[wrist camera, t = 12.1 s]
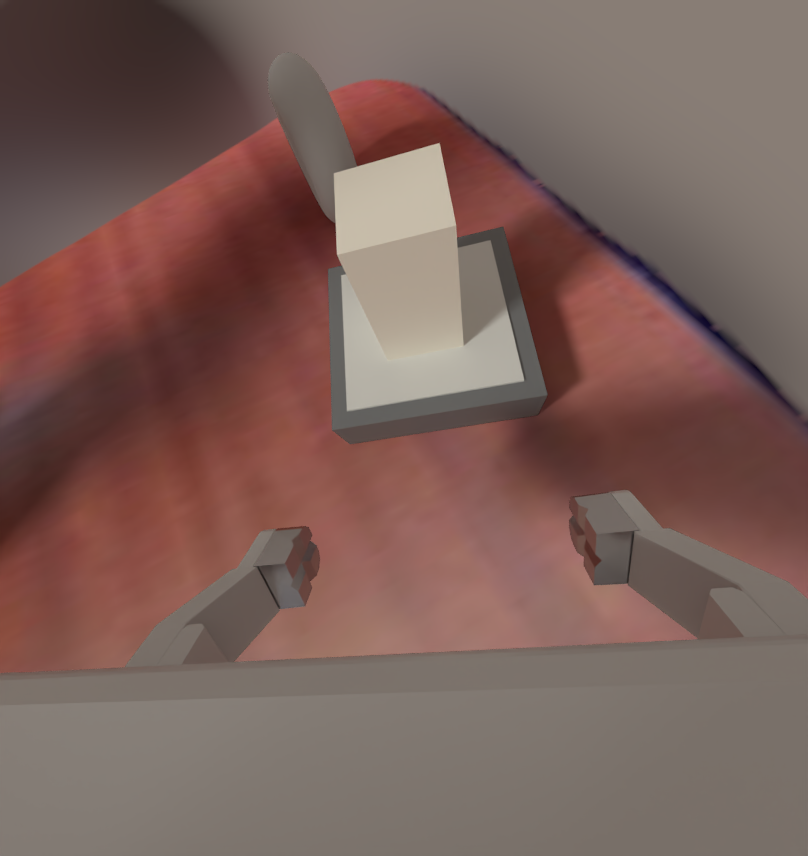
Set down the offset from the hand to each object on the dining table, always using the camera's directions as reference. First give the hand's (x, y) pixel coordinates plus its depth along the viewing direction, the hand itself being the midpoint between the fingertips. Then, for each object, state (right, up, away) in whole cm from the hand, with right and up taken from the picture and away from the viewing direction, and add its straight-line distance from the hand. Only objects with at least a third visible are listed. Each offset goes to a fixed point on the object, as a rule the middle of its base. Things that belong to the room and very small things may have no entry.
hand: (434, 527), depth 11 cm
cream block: (0, +10, +10) cm, 14 cm away
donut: (-6, +22, +19) cm, 30 cm away
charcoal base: (+1, +9, +13) cm, 16 cm away
